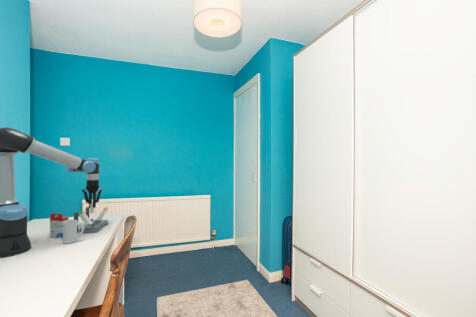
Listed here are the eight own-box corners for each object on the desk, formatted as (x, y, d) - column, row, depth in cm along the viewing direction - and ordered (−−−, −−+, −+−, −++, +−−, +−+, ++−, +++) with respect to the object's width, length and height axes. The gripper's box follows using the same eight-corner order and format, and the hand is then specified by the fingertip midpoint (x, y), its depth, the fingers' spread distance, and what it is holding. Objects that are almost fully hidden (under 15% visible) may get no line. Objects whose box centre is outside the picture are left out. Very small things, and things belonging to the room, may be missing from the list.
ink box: (68, 235, 143) (69, 212, 143) (61, 237, 138) (62, 213, 138) (56, 234, 144) (56, 211, 144) (49, 237, 139) (49, 213, 139)
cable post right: (88, 223, 168) (88, 207, 169) (84, 223, 168) (85, 207, 168) (94, 220, 179) (94, 204, 179) (90, 220, 178) (91, 204, 179)
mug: (61, 245, 127) (61, 223, 127) (63, 241, 133) (64, 220, 133) (83, 242, 132) (83, 221, 132) (84, 238, 138) (84, 218, 138)
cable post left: (73, 233, 146) (73, 215, 146) (69, 233, 146) (69, 215, 146) (78, 230, 153) (79, 212, 153) (74, 230, 153) (75, 212, 153)
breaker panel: (96, 232, 149) (97, 224, 149) (79, 233, 147) (79, 225, 147) (107, 223, 169) (107, 216, 169) (92, 224, 167) (93, 217, 167)
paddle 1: (90, 224, 150) (80, 212, 149) (87, 226, 150) (78, 214, 148) (93, 222, 154) (83, 211, 153) (90, 224, 154) (81, 213, 153)
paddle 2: (98, 221, 161) (106, 209, 162) (95, 220, 161) (104, 208, 162) (100, 220, 165) (108, 208, 167) (98, 218, 165) (106, 206, 166)
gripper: (104, 179, 167) (104, 211, 167) (84, 179, 165) (84, 211, 164) (100, 180, 160) (100, 213, 160) (80, 180, 157) (79, 214, 157)
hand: (92, 212), depth 162 cm, fingers closed
